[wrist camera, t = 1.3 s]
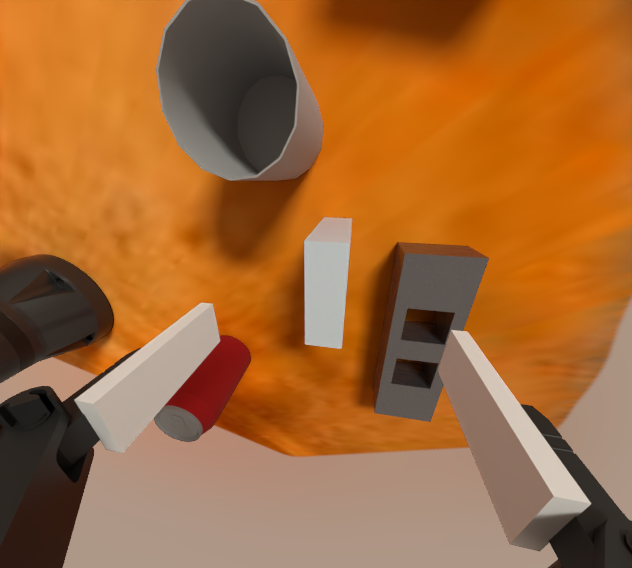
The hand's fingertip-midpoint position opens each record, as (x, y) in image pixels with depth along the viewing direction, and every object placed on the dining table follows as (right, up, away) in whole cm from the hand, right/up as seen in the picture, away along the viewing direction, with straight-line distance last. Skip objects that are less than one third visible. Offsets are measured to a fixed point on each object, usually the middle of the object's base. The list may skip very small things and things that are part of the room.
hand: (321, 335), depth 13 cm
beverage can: (-13, -7, +22) cm, 27 cm away
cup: (-4, +18, +9) cm, 20 cm away
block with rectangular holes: (+12, -3, +15) cm, 20 cm away
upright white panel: (+2, +6, +13) cm, 15 cm away
